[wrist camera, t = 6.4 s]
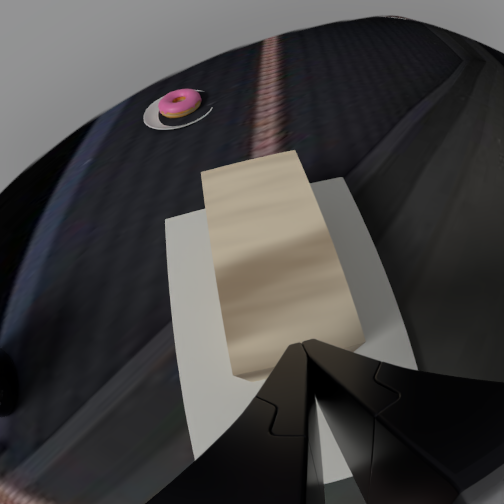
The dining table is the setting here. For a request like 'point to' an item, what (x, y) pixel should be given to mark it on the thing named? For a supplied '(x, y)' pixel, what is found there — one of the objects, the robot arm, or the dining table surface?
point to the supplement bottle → (7, 384)
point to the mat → (213, 334)
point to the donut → (173, 108)
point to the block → (274, 264)
